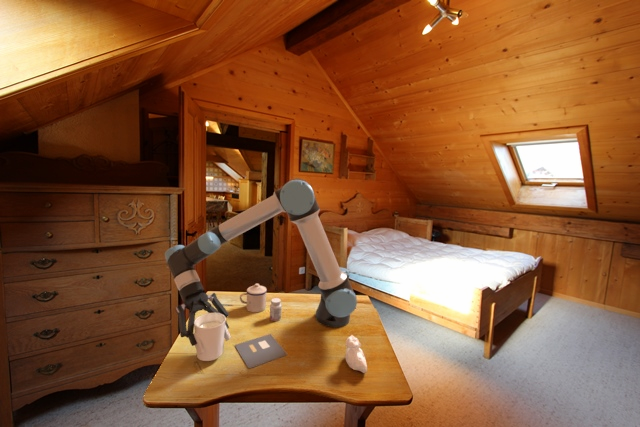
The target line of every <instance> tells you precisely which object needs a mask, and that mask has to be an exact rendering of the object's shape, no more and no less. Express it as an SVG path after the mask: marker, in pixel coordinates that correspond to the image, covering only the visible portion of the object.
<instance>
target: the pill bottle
mask: <svg viewBox="0 0 640 427" xmlns="http://www.w3.org/2000/svg"><path fill="white" fill-rule="evenodd" d="M270 301H271V302H270V303H271V304H270V305H269V310H270V311H269V319H270V320H271V321H273V322H277V321H280V320H281V319H282V303H281V302H282V300H281V299H280V298H278V297H275V298H272V299H271V300H270Z"/></svg>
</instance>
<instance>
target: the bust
mask: <svg viewBox="0 0 640 427" xmlns="http://www.w3.org/2000/svg"><path fill="white" fill-rule="evenodd" d="M345 347H346V350H345V356H344V357H345V361H346V363H347V365H348V367H349V368H350V369H353V370H354V371H359V372H360V373H363V374H366V373H367V371H368V365H367V360H366V356H365V354H364V351H363V350H362V348H361V347H362V343H360V341H359V338H357V337H356V336H354V335H353V334H351V335H350V336H349V337H347V338H346V340H345Z"/></svg>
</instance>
